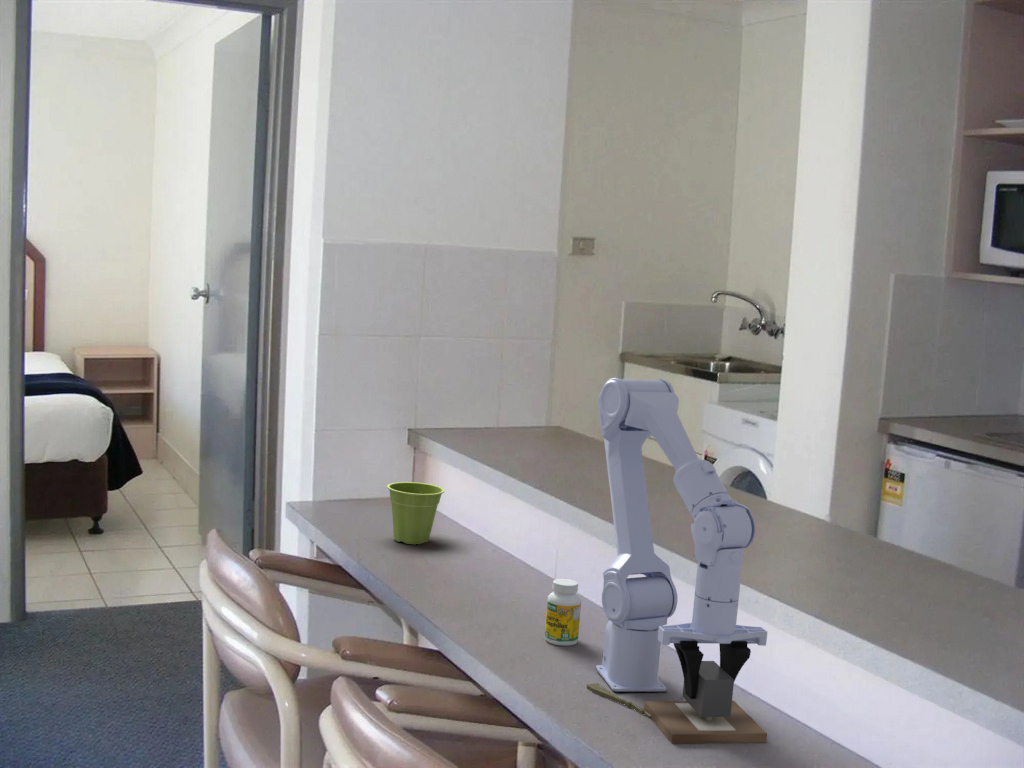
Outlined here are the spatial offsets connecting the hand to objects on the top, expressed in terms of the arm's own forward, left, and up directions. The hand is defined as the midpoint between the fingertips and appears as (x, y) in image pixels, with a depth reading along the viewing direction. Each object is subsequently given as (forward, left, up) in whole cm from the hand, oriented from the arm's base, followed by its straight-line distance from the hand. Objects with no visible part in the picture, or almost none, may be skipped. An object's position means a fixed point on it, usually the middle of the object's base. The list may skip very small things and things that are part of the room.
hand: (706, 696), depth 153 cm
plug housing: (0, 0, -1) cm, 1 cm away
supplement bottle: (-34, -11, -4) cm, 36 cm away
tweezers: (-8, -9, -5) cm, 13 cm away
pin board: (0, 0, -4) cm, 4 cm away
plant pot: (-96, -27, -4) cm, 99 cm away
